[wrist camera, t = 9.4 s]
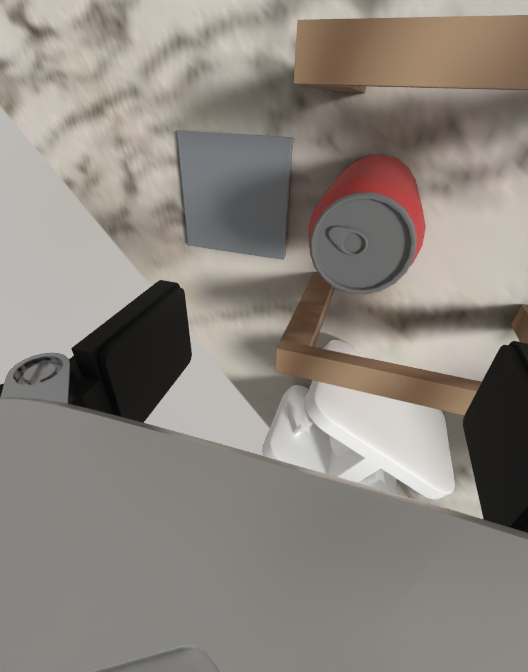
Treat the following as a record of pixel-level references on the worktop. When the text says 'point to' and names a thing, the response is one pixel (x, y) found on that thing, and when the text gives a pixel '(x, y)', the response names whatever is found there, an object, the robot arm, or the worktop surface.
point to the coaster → (236, 191)
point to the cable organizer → (362, 436)
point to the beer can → (367, 226)
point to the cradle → (397, 71)
